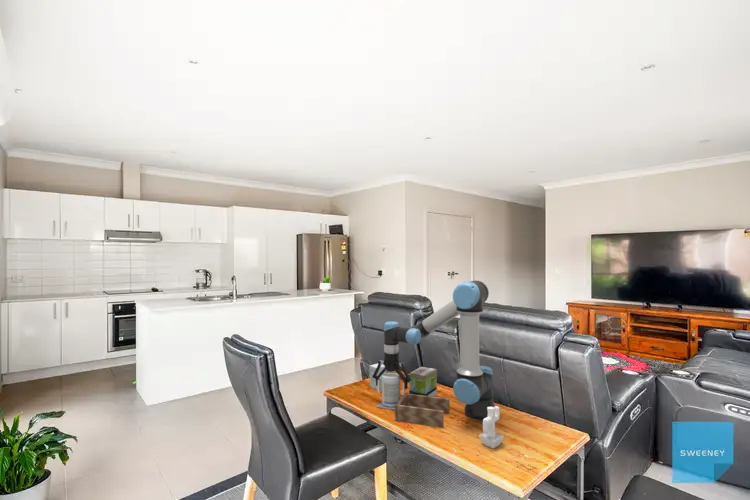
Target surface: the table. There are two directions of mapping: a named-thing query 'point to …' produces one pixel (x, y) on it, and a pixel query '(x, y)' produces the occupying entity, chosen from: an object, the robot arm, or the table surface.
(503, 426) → the table surface
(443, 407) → the walnut box
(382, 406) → the grey mat
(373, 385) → the supplement box
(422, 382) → the tea box
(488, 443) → the figurine
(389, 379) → the supplement tub
